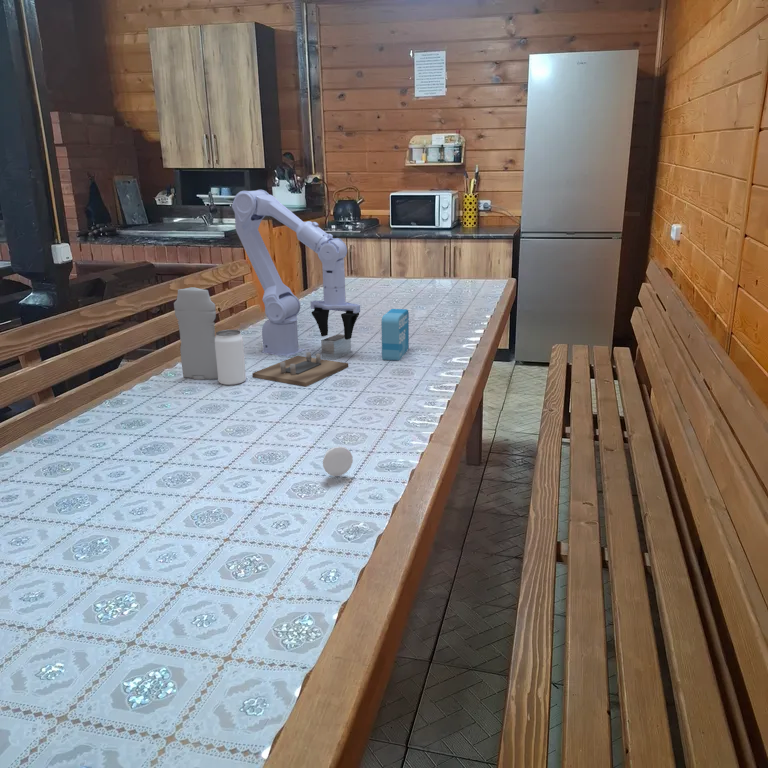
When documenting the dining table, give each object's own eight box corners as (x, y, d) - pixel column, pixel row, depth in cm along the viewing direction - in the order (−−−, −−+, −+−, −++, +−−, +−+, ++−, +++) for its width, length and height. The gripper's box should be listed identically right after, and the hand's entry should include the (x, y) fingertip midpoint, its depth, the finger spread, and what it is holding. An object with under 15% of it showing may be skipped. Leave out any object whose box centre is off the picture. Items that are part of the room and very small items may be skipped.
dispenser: (177, 378, 163) (167, 288, 156) (185, 373, 167) (176, 285, 160) (218, 381, 161) (209, 289, 154) (225, 376, 165) (217, 286, 158)
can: (251, 378, 162) (247, 330, 158) (237, 386, 156) (232, 336, 153) (227, 376, 164) (223, 328, 160) (213, 384, 158) (208, 334, 155)
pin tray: (252, 377, 163) (251, 363, 162) (297, 359, 178) (297, 346, 177) (305, 386, 156) (305, 372, 155) (348, 367, 170) (348, 353, 169)
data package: (398, 363, 174) (398, 317, 170) (381, 362, 175) (381, 316, 171) (408, 351, 185) (408, 308, 181) (392, 350, 186) (392, 307, 182)
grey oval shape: (325, 479, 109) (323, 451, 108) (319, 472, 112) (318, 444, 110) (353, 473, 111) (353, 446, 109) (347, 467, 114) (346, 439, 112)
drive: (321, 358, 179) (321, 339, 178) (338, 351, 186) (338, 333, 184) (334, 360, 177) (333, 341, 176) (350, 353, 184) (350, 335, 182)
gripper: (302, 287, 176) (305, 337, 180) (349, 290, 169) (350, 343, 173) (318, 283, 182) (320, 332, 186) (363, 286, 175) (365, 337, 179)
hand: (336, 337), depth 180 cm, fingers open, 7 cm apart
